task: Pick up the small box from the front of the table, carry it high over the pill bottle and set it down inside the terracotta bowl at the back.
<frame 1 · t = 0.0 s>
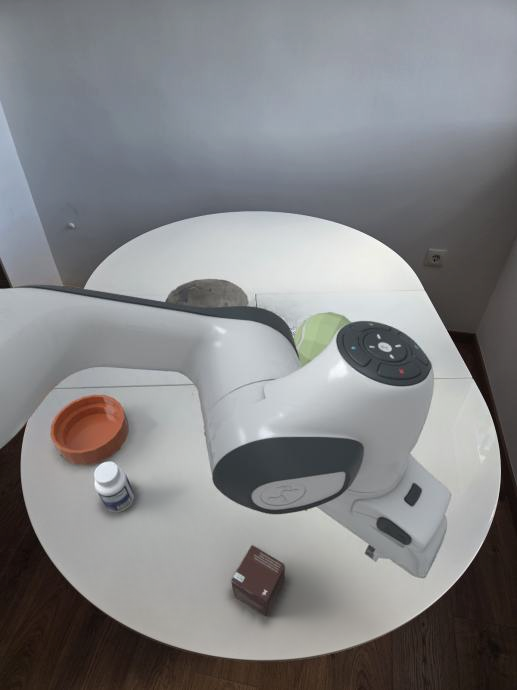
hand: (337, 527, 51), 24 cm above the table, tool pointing down, fingers open, 8 cm apart
bowl: (210, 331, 113), on the table
pill bottle: (119, 499, 80), on the table
box: (259, 589, 68), on the table
clay bowl: (94, 436, 90), on the table
green ball: (323, 369, 103), on the table
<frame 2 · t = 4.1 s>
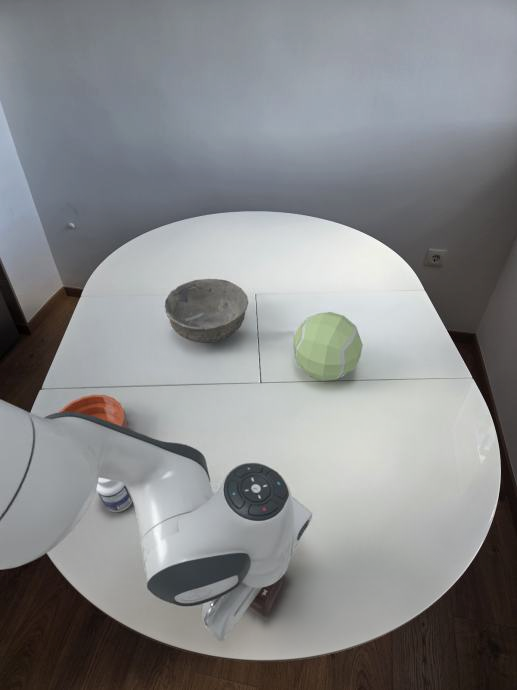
hand: (259, 583, 67), 2 cm above the table, tool pointing down, fingers closed on box, 6 cm apart
box: (259, 589, 68), on the table, touching gripper
everything else where it was.
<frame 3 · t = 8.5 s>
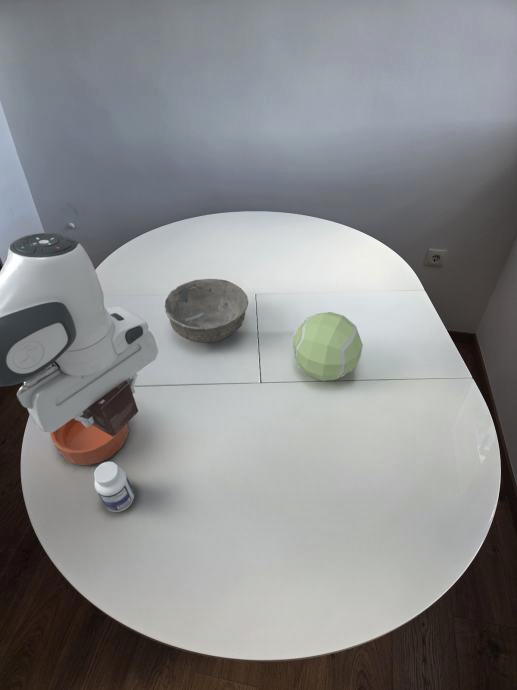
hand: (109, 407, 69), 21 cm above the table, tool pointing down, fingers closed on box, 6 cm apart
box: (113, 417, 70), point 18 cm above the table, touching gripper
everything else where it was.
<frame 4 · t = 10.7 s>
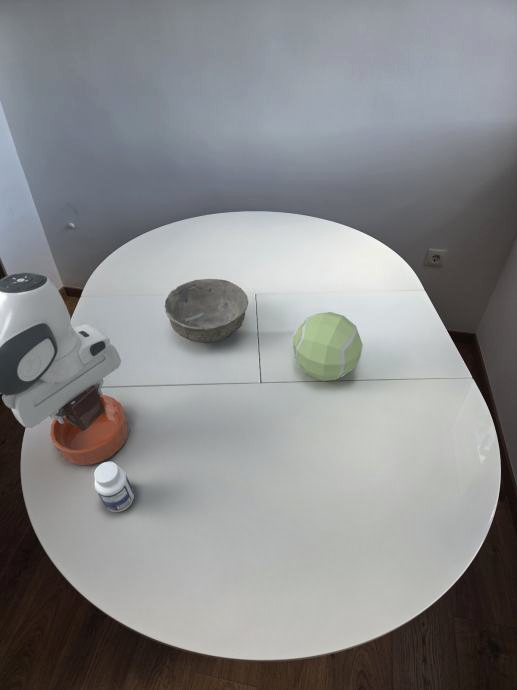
hand: (80, 407, 83), 10 cm above the table, tool pointing down, fingers closed on box, 6 cm apart
box: (84, 415, 85), point 7 cm above the table, touching gripper
everything else where it was.
when the fingers open (3 cm above the table, at t = 12.9 s): box stays where it is, resting on clay bowl.
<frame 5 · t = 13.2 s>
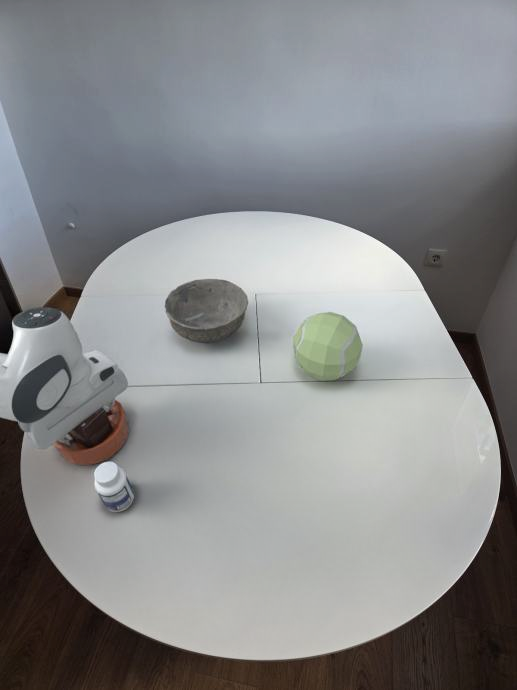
hand: (90, 427, 88), 3 cm above the table, tool pointing down, fingers open, 8 cm apart
box: (93, 435, 89), resting on clay bowl
everything else where it was.
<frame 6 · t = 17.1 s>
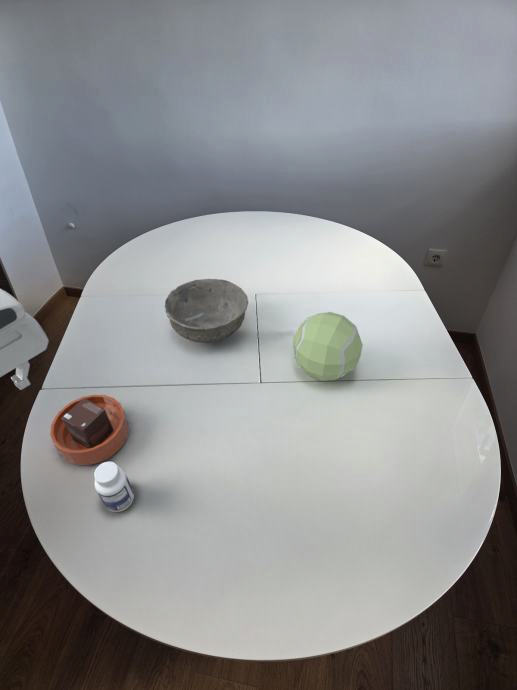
nothing on the table moved.
at the end: box inside the target area in the clay bowl (0.1 cm from its centre), point 0.4 cm above the clay bowl's base; box tilted 0°; the gripper is holding nothing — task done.
